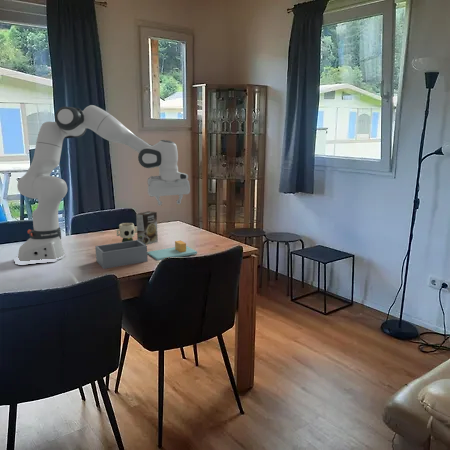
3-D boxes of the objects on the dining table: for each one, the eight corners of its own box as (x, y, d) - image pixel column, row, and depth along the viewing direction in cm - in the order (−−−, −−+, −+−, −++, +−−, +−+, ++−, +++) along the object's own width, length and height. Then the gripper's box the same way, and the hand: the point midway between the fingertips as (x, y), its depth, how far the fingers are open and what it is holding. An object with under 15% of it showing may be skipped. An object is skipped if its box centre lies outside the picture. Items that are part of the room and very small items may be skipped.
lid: (157, 262, 202) (156, 250, 201) (147, 255, 212) (146, 243, 211) (197, 255, 212) (196, 243, 211) (185, 249, 223) (185, 237, 221)
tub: (103, 270, 191) (102, 252, 189) (96, 263, 201) (95, 246, 199) (147, 262, 201) (146, 245, 199) (138, 256, 211) (137, 239, 209)
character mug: (121, 253, 215) (119, 227, 212) (114, 250, 221) (113, 224, 218) (141, 249, 222) (139, 224, 219) (134, 246, 227) (133, 221, 224)
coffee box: (145, 245, 228) (144, 215, 224) (137, 243, 232) (135, 213, 228) (158, 241, 235) (157, 212, 232) (150, 239, 239) (148, 210, 235)
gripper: (149, 177, 200) (150, 207, 203) (191, 175, 209) (191, 204, 212) (145, 175, 205) (146, 205, 208) (186, 173, 215) (186, 202, 218)
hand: (169, 204), depth 210 cm, fingers open, 8 cm apart
